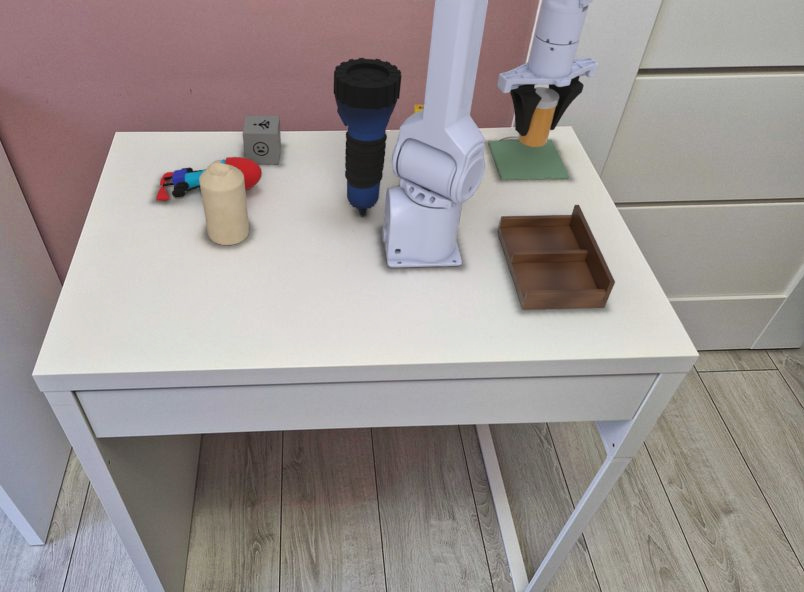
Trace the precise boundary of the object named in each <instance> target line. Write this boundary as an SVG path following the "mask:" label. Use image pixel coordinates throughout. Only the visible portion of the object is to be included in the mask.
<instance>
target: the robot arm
mask: <svg viewBox="0 0 804 592" xmlns="http://www.w3.org/2000/svg"><path fill="white" fill-rule="evenodd" d="M593 1H594V0H542V1H541V6H540V11H539V15H538V21H537V24H536V30H535V33H534V38H533V41H532V48H531V51H530V52H531V53H530V56H529V61H528V62H526V63H523V64H521V65H518V66H517V67H515V68H513V69H511V70H508V71H505V72H501V73H499V74H498V78H497V84H496V87H497V89H498V90H499V91H500V92H502V93H503V94H509V93H510V97H511V100H512V105H513V111H514V129H515V131H516V132H517V133H518V135H519V134H520V135H521V136H526V135H527V133H528V131H529V127H530V123H531V120H532V116H533V114H534V111H535V109H536V107H537V105H538V103H539V102H540V100H541V99H542V98H541V97H540V96H539V95H538V94H537V93H536V89H535V88H536V86H537V85H548V88H549V89H552V90H554V91H556V92H557V93H558V94H559V101H558V104H557V106H556V109H555V113H554V117H553V121H552V125H551V129H550V131H554V130H555V129H556V127H557V126H558V124H559V122H560V121H561V119H562V117H563V116H564V114H565V113H566V111H567V110H568V108H569V106H571V104H572V103H573V102H574V100H575V99H576V98H577V97H578V96H579V95H581V94H583V90H584V83H582V82H581V81H580V77H587V78H594V77H595V76H596V73H597V69H598V66H599V62H598V61H596V60H594V59H593V58H592V57H591V56H590V57H589V56H588V57H576V53H577V51H578V47H579V43H580V39H581V35H582V32H583V27H584V24H585V21H586V16H587V13H588V9H589V6H590V4H591V3H593ZM488 6H489V0H434V7H433V16H432V25H431V35H430V42H429V43H430V44H429V53H428V63H427V64H428V65H427V72H426V82H425V89H424V101H423V105H424V109H423V110H421V111H419V112H416V113H415V114H414V113H413V114H411V115H409V116H408V117H407V118H406V119H405V120H403V122H402V124H400V126H399V128H398V129H399V131H398V136H397V140H396V143H395V145H394V148H393V151H392V155H391V169H392V172H393V174H394V175H395V176H396V177H397V178H399V185H396V186H390V187H387V188H386V191H385V199H384V200H385V201H384V211H383V212H384V213H383V224H382V225H383V227H382V234H381V235H382V242H383V245H384V252H385V256H386V265H387V267H389V268H420V267H421V268H426V267H459V266H462V264H463V260H462V256H461V252H460V249H459V243H458V240H457V237H458V230H459V225H460V220H461V214H462V207H463V204H464V203H465V202H467V201H468V200H470V199H472V197H473V196H474V195H475V193H476V192H477V190H478V188H479V187H480V185H481V183H482V180H483V178H484V175H485V172H486V160H485V159H486V158H485V148H486V147H485V143H486V138H485V136H484V134H483V133H482V131H481V129H480V128H479V126H478V125H477V124H476V123H475V121H474V119H473V118H472V116H471V110H472V104H473V98H474V92H475V86H476V79H477V73H478V69H479V68H478V67H479V61H480V54H481V50H482V43H483V37H484V30H485V24H486V19H487V18H486V17H487V12H488Z"/></svg>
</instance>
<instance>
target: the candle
mask: <svg viewBox="0 0 804 592" xmlns="http://www.w3.org/2000/svg"><path fill="white" fill-rule="evenodd" d="M211 163H212V162H211ZM211 163H209V164H208V166H209V167H208V166H207V167H208V168H207V167H206V168H205V169H206V170H205V171H204V172H203V173H202V174H201V175H200V178H199V182H200V188H199V189H200V194H201V200H202V206H203V211H204V212H203V213H204V219H205V224H206V230H207V231H206V232H207V235H208V238H209V239H210V241H212V242H213V243H215V244H218V245H222V246H233V245H238V244H239V243H242V242H243V241H245V240H246V239H247V238H248V236H249V234H250V223H249V213H248V202H247V193H246V190H245V182H244V175H243V173H242V172H241V171H240V170H239V169H237V168H236V167H234V166H231V165H227V164H223V163H212V164H211Z"/></svg>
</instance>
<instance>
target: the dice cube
mask: <svg viewBox="0 0 804 592" xmlns="http://www.w3.org/2000/svg"><path fill="white" fill-rule="evenodd" d="M280 119H281V118H280V115H245V118H244V124H243V129H242V132H241V133H242V143H243V152H244V158H246V159H250V160H252V161H254V162H256V163H257V164H258V165H280V159H281V152H282V151H281V150H282V137H281V136H282V135H281V120H280Z"/></svg>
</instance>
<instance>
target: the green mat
mask: <svg viewBox="0 0 804 592" xmlns="http://www.w3.org/2000/svg"><path fill="white" fill-rule="evenodd" d="M487 143H488V147H489V149H490V153H491V155H492V158H493V161H494V163H495V166H496V169H497V172H498V175H499V177H500V180H501V181H514V180H515V181H516V180H519V181H520V180H568V179H570V175H569V173H568V171H567V169H566V167H565V165H564V163H563V160H562V158H561V156H560V154H559V152H558V150H557V148H556V145H555V144H554V141H553V140H552V139H548V140H547V143H546V144H545V145H543V146H540V147H530V146H527V145H524V144H522V143H521V142H520V141H519V139H518V140H488V142H487Z"/></svg>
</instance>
